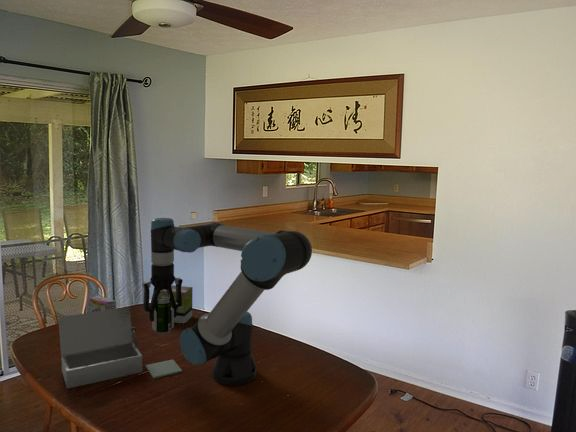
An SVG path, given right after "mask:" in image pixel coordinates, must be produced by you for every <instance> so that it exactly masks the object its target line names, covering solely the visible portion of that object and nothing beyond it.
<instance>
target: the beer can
mask: <svg viewBox="0 0 576 432" xmlns="http://www.w3.org/2000/svg"><path fill="white" fill-rule="evenodd" d="M155 311H156V312H157V331H155V333H156V334H158V335H166V334H169V333H170V332H171V329H172V328H171V300H170V297H167V296H161V297H158V299H157V303H156V307H155Z"/></svg>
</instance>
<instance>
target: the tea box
mask: <svg viewBox="0 0 576 432" xmlns="http://www.w3.org/2000/svg"><path fill="white" fill-rule="evenodd" d="M171 288H172V292H173V296H174V299H175V302H176V284H175V285H173V284H172V285H171ZM181 295H182V306H180V307H178V308H177V310H176V317H175V318H174V324H175V323H176V324H181V323H183V325H184V323H187V322H188V321H189V320H190V319H191V318H192V317H193V286H184V285H183V286H182V285H181ZM161 296H167V297H169V296H168V293H167V290H161V291H160V293H159V296H158V297H161ZM171 308H172V306H171Z"/></svg>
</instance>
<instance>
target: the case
mask: <svg viewBox="0 0 576 432" xmlns="http://www.w3.org/2000/svg"><path fill="white" fill-rule="evenodd" d="M58 328H59V329H58V331H59V341H60V342H59V344H60V346H59V347H60V356H61V357H60V358H61V374H62V376H63V379H64V383H65V387H66V389H71V388H77V387H81V386H85V385H90V384H95V383H99V382H102V381H107V380H113V379H118V378H121V377H126V376H131V375H136V374H140V373H143V355H142V354H141V352H140V350H139V349H138V347H139V344H138V343H139V341H138V337H137V334H136V331H137V329H136V326H132V319H131V309H130V306H126V307H125V306H124V307H120V308H116V309H111V310H104V311H97V312H91V313H90V312H85V313H84V312H83V313H78V314H77V313H76V314H72V315H70V314H69V315H64V316H58Z"/></svg>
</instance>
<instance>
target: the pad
mask: <svg viewBox="0 0 576 432" xmlns="http://www.w3.org/2000/svg"><path fill="white" fill-rule="evenodd" d="M145 368H146V370H147V371H148V373H149V375H151V377H152V378H153V379H154V380H155V379H159V378H161V377H165V376H171V375H175V374H180V373H182V372H183V369H182V368H181V367H180V366H179V365H178V364H177V362H176V361H175V360H174V359H169V360H164V361H160V362H159V361H158V362H154V363H150V364H145Z"/></svg>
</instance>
